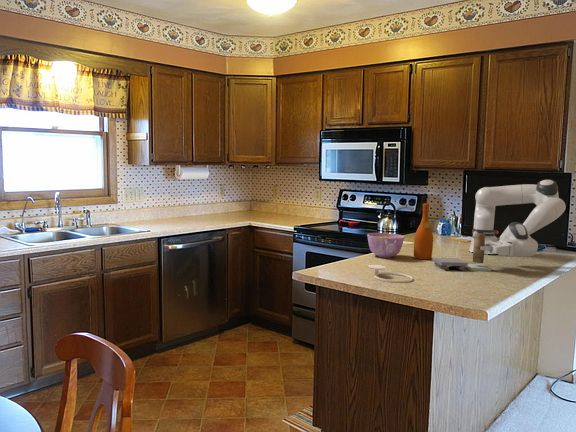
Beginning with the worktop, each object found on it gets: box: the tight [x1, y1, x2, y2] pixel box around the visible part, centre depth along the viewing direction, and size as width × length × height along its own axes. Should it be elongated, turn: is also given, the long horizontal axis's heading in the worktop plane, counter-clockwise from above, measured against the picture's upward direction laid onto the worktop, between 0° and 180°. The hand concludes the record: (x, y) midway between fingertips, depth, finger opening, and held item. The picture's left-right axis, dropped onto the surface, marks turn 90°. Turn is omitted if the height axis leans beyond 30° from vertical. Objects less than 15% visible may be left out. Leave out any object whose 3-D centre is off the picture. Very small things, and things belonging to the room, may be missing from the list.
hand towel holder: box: [367, 264, 414, 284], centre depth 216 cm, size 17×4×21 cm
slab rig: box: [431, 256, 469, 272], centre depth 243 cm, size 13×13×4 cm
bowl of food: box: [366, 232, 405, 259], centre depth 268 cm, size 20×20×12 cm
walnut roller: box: [472, 233, 485, 264], centre depth 243 cm, size 5×5×14 cm
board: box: [464, 263, 493, 272], centre depth 244 cm, size 10×10×2 cm
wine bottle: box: [413, 202, 434, 261], centre depth 265 cm, size 10×10×30 cm
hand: (477, 246), depth 243 cm, fingers closed on walnut roller, 5 cm apart
